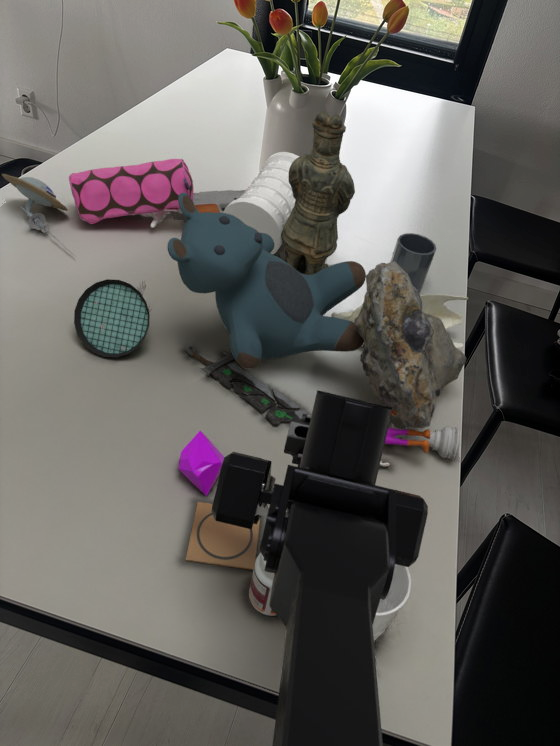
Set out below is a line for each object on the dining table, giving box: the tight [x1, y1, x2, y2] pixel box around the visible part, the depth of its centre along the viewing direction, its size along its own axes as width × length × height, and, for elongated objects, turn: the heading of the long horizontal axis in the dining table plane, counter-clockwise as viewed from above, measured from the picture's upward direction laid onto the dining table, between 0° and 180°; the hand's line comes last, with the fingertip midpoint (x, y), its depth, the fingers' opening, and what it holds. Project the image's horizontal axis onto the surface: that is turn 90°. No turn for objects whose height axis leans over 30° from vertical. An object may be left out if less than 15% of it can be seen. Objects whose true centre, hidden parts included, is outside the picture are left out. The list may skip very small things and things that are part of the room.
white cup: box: [373, 564, 412, 642], centre depth 62 cm, size 8×8×10 cm
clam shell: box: [330, 293, 469, 349], centre depth 101 cm, size 22×12×12 cm, turn 106°
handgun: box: [170, 189, 246, 222], centre depth 120 cm, size 4×26×15 cm
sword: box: [185, 344, 309, 426], centre depth 88 cm, size 1×25×7 cm
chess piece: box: [388, 422, 460, 460], centre depth 84 cm, size 4×4×10 cm
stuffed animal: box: [167, 193, 367, 370], centre depth 83 cm, size 23×18×28 cm
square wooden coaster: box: [185, 501, 261, 571], centre depth 70 cm, size 8×8×1 cm
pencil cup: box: [389, 232, 437, 294], centre depth 110 cm, size 7×7×9 cm
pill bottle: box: [248, 552, 277, 617], centre depth 63 cm, size 5×5×8 cm
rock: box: [354, 261, 467, 429], centre depth 82 cm, size 25×21×15 cm
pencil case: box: [68, 158, 194, 225], centre depth 111 cm, size 21×10×10 cm
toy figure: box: [379, 410, 431, 468], centre depth 82 cm, size 8×12×3 cm
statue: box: [281, 111, 356, 275], centre depth 100 cm, size 11×9×30 cm
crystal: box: [177, 429, 226, 497], centre depth 75 cm, size 5×5×5 cm
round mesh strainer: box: [73, 278, 152, 358], centre depth 91 cm, size 11×12×6 cm
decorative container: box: [223, 151, 300, 255], centre depth 113 cm, size 12×12×18 cm
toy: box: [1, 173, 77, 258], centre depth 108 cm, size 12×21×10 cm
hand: (315, 493), depth 64 cm, fingers open, 9 cm apart
